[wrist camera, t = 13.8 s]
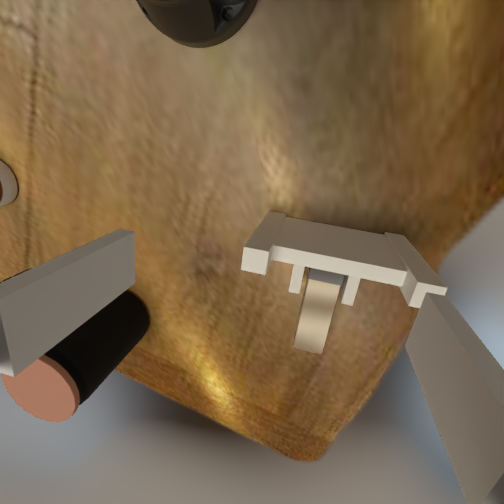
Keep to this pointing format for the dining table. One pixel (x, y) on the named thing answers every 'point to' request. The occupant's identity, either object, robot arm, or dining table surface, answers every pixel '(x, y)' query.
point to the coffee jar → (79, 361)
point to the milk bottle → (7, 185)
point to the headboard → (341, 256)
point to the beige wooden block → (317, 309)
